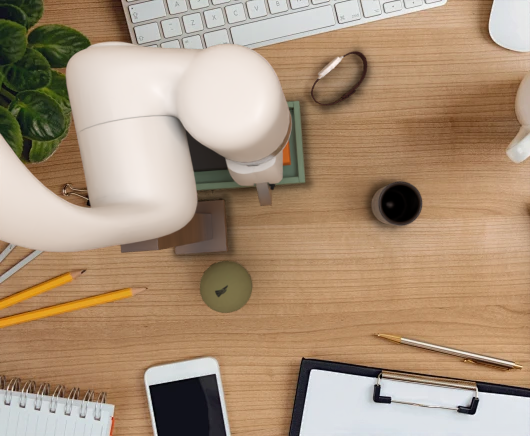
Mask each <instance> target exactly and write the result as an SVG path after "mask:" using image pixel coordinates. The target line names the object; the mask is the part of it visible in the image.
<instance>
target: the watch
mask: <svg viewBox="0 0 530 436" xmlns="http://www.w3.org/2000/svg"><path fill="white" fill-rule="evenodd" d="M349 55H355V56H357V57H359V58H360V59H361V61H362V68H363V69H362V73H361V76H360V78H359V80H358V81H357V83H356V84H355V85H354V86H353V87H351V89H350V90H349V91H348V92H346V93H344V94H343V95H342V96H340V99H338V100H335V101H332V102H331V103H322V102H320V101H318V100H316V98H315V95H314V89H315V87H316V84H317V83H318V82H319V81H320V79H322V78H324V77H325V76H326V75H328V74H329V73H330V72H331V71H332V70H333V69H335V67H337V65H339V64H340V63H341V61H342V60H343V59H344V58H345V57H347V56H349ZM367 71H368V60H367V57H366V56H365V54H364V53H362V52H361V51H359V50H358V51H357V50H356V51H355V50H354V51H353V50H352V51H350V52H348V53H346V54H344V55H342V56H341V55H340V56H338V55H337V56H336V57H335V58H333V59H332V60H331V61H330V62H329V63H327V64H326V65H325V66H324V67H323V68H322V69H321V70H320V71H319V72H318V73H317V76H318V77H316V79H315V81H314V83H313V84H312V85H311V89H310V96H311V98H312V100H313V101H314V102H315V103H316V104H318V105H321V106H327V107H328V106H333V105H336V104H339V103H341V102H343V101H345V100H346V99H348V98H350V96H352V95H353V94H354V93H356V90H357V88H358V87H360V85H361V84H362V83H363V81H364V79H365V77H366V75H367Z"/></svg>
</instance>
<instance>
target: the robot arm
mask: <svg viewBox="0 0 530 436" xmlns="http://www.w3.org/2000/svg"><path fill="white" fill-rule="evenodd" d="M65 68H66V69H65V82H66V89H67V95H68V99H69V104H70V109H71V114H72V118H73V124H74V127H75V129H74V130H75V133H76V138H77V143H78V148H79V149H78V150H79V153H80V158H81V163H82V169H83V174H84V180H85V186H86V191H87V196H88V200H89V205H90V207H86V206H82V205H81V206H80V205H77V204H74V203H72V202H70V201H67V200H66V199H64V198H62V197H61V196H60V195H57V194H56V193H55V192H53V190H51V189H50V188H48V187H47V186H45V184H43V182H41V181H40V180H39V178H37V177H36V176H35V175H34V174H33V173H32V172H31V170H29V169H28V167H27V166H26V164H24V162H22V161H21V160H20V158H19V157H18V155H17V154H16V153H15V152H14V150H13V149H12V147H11V146H10V144H9V143H8V142H7V140H6V139H5V138H4V136H3V134H1V133H0V241H1V242H5V243H8V244H11V245H13V246H16V247H20V248H24V249H29V250H33V251H39V252H48V253H79V252H85V251H92V250H97V249H98V250H99V249H104V248H109V247H110V248H111V247H116V246H121V245H122V244H128V243H134V242H140V241H145V240H150V239H155V238H159V237H162V236H165V235H169V234H171V233H173V232H176V231H178V230H180V229H181V228H183V227H184V226H185V225H186V224H187V223H188V222H190V220H191V219H192V218H193V216H194V214H195V211H196V207H197V202H198V191H197V190H196V183H195V177H194V171H193V166H192V161H191V156H190V151H189V146H188V141H187V136H186V131H185V129H186V130H187V131H188V132H189V133H190V135H191V136H192V137H193V138H195V139H196V140H197V141H198V142H200V143H201V144H203V145H204V146H206V147H208V148H210V149H211V150H213V151H215V152H216V153H218V154H220V155H221V156H223V157H225V159H226V163H227V167H228V170H229V173H230V175H231V177H232V178H233V179H234V181H235V182H236V183H237V184H239V185H241V186H254V185H255V183H256V187H255V189H256V192H257V197H258V202H259V206H260V207H270V206H271V207H272V206H273V191H274V190H275V188H276V185H275V183H279V182H280V181H281V180H282V178H283V149H284V147H285V146H286V144H287V142H288V140H289V138H290V134H291V129H292V118H291V114H290V110H289V107H288V104H287V102H288V101H287V98H286V96H285V92H284V90H283V87H282V84H281V81H280V78H279V76H278V74H277V73H276V71H275V69H274V67H273V66H272V65H271V63H270V62H269V61H268V60H267V59H266V58H265V57H264V56H263V55H261V53H259V52H257V51H256V50H254V49H252V48H250V47H248V46H245V45H242V44H236V43H218V44H215V45H211V46H207V47H206V48H184V47H183V48H182V47H176V48H175V47H159V46H141V45H138V44H135V43H130V42H126V41H103V42H102V41H101V42H98V43H93V44H90V45H89V46H88V47H86V48H85V49H82V50H79V51H77V52H76V53H75V54H73V55H72V56H71V57H70V59H69V60H68V61H67V64H66V67H65ZM272 190H273V191H272Z"/></svg>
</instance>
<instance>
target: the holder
mask: <svg viewBox="0 0 530 436" xmlns="http://www.w3.org/2000/svg"><path fill="white" fill-rule="evenodd" d="M287 104H288V107H289V110H290V114H291V118H292V129H291V134H290V138H289V146H290V158H291V165H285V166H283V178H282V180H281V181H280V182H279V183H275V186H283V185H284V186H286V185H300V184H306V183H307V182H306V169H305V167H306V166H305V156H304V142H303V141H304V140H303V139H304V138H303V128H302V114H301V113H302V112H301V103H300V100H292V101H291V100H290V101H287ZM194 177H195V183H196V190H197V192H202V191H203V192H205V191H217V190H218V191H219V190H231V189H245V188H256V183H255V185H254V186H241V185H239V184H237V183H236V182H235V181H234V179H233V178H232V177H231V175H230V173H229V170H217V171H203V172H194Z"/></svg>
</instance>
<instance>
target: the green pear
mask: <svg viewBox="0 0 530 436" xmlns="http://www.w3.org/2000/svg"><path fill="white" fill-rule="evenodd" d="M253 288H254V287H253V279H252V277H251V274H250V273H249V271H248V269H247V268H246V267H244V265H242V264H240V263H239V262H236V261H233V260H220V261H217V262H215V263H213V264H211V265H210V266H208V267H207V269H205V270H204V272H203V274H202V275H201V278H200V281H199V294H200V297H201V299H202V301H203V303H204V304H205V306H207V307H208V308H209V309H210V310H212V311H214V312H216V313H221V314H230V313H235V312H237V311H239V310H241V309H242V308H244V307H245V306H246V305H247V304H248V302H249V300H250V298H251V296H252V293H253Z"/></svg>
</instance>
